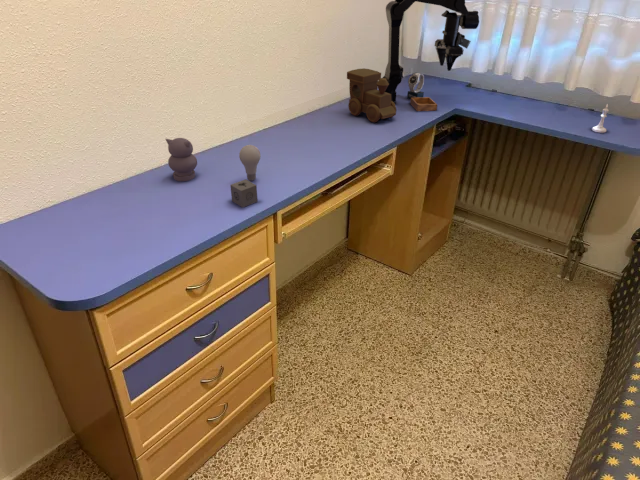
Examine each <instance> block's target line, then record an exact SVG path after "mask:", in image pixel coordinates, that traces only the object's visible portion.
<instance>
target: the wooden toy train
mask: <svg viewBox="0 0 640 480" xmlns="http://www.w3.org/2000/svg"><path fill="white" fill-rule="evenodd" d="M346 79H347V80H349V86H348V87H349V99H348V110H349V112H350V114H351V115H352V116H354V117H355V116H356V117H357V116H359V115H360V114H361V113H364V114H365V115H366V117H367V119H368V121H369V122H371V123H377V122H378V121H379V120H380V119H381V120H384V119H392V118H394V117H395V116H396V115H397V106H396V103H395V104H394V102H393V101H391V94H389V93H387V92H385V91H386V89H387V87H388V85H389V83H388V81H387V79H386V78H383V77H382V72H380V71H378V70H374V69H370V68H357V69H352V70H349V71H347V72H346Z"/></svg>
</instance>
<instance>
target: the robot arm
mask: <svg viewBox="0 0 640 480" xmlns="http://www.w3.org/2000/svg"><path fill="white" fill-rule="evenodd" d="M416 2H417V3H423V4H428V5H434V6H439V7H443V8H446V9H445V11H444V12H443V13H441V17H443V18H445V22H444V29H443V30H442V31H441V34H443V37H442V38H437V39H436V40H434V47H435V50H436V54H437V57H438V61H439V66H441V67H443V66H444V64H445V63H446V69H447V71H448V72H450V71H451V70H452V68H453V66H454V64H455V62H456V60H457V59H458V58H460V57H461V56H462V55H464V49H468V48H469V46H470V45H471V40H469V39H467V38H466V35H464V34H462V33H461V32H459V31H460V28H461V29H462V30H477V29H478V27H479V26H480V25H479V24H480V17H479V11H478V10H468V8H467V6H466V0H391V1H389V2H388V3H387V4H386V6H385V15H386V20H387V23H388V54H387V55H388V59H387V64H386V67H385V71H384V75H383V76H382V78H386V79H387V81H388V83H389V85H388V87H387V89H386V91H385V92H387V93H389V94H391V101H393V102H394V104H395V105H396V101H397V88H398V86H399V85H400V84H401V83H402V81H403V79H404V67H403V66H401V65H400V40H401V39H400V38H401V37H400V36H401V25H402V22H403V20H404V15H405V12H406V11H407V10H409V8H411V6H412V5H413V4H414V3H416ZM450 11H451V12H450ZM445 61H446V62H445Z"/></svg>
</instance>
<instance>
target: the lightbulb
mask: <svg viewBox="0 0 640 480" xmlns="http://www.w3.org/2000/svg"><path fill="white" fill-rule="evenodd" d="M260 151H261V150H260V149H259V148H258V147H256V146H255V145H253V144H247V145H244V146H243V147H241V149H240V150H239V153H238V154H239V156H238V158H239V161H240V162H241V164H242V165H243V167H244V170H245V174H246V178H247V179H246V180H248V181H250V182H254V180H256V179H257V169H258V165H259V163H260V160H261V152H260Z"/></svg>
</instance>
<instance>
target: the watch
mask: <svg viewBox="0 0 640 480" xmlns="http://www.w3.org/2000/svg"><path fill="white" fill-rule="evenodd" d="M407 84H408V89H409V90H408V91H407V95H406V98H407V99H408V100H410V99H411V98H417V97H424V93H425V92H424V91H421V90H422V89H423V87H424V84H425V75H424V74H423V73H419V72H415V73H413V74H412V75H410V76H409V78H408V80H407Z"/></svg>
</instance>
